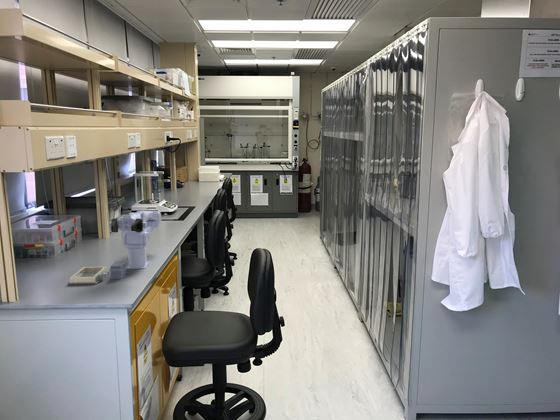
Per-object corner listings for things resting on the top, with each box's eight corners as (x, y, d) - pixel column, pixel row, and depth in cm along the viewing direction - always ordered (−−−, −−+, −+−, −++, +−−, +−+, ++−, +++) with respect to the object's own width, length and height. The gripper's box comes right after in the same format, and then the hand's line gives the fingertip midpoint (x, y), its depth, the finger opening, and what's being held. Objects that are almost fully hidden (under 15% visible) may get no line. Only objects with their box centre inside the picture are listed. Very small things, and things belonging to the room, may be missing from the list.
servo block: (117, 272, 184) (116, 260, 183) (127, 272, 184) (126, 259, 183) (110, 280, 174) (109, 267, 173) (120, 280, 174) (119, 266, 174)
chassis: (82, 272, 183) (81, 266, 183) (111, 272, 184) (110, 266, 184) (67, 284, 169) (67, 278, 168) (99, 284, 170) (98, 277, 169)
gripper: (113, 213, 183) (102, 218, 170) (148, 213, 184) (140, 218, 171) (114, 229, 184) (103, 236, 171) (149, 229, 185) (141, 236, 172)
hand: (122, 228), depth 171 cm, fingers open, 7 cm apart
